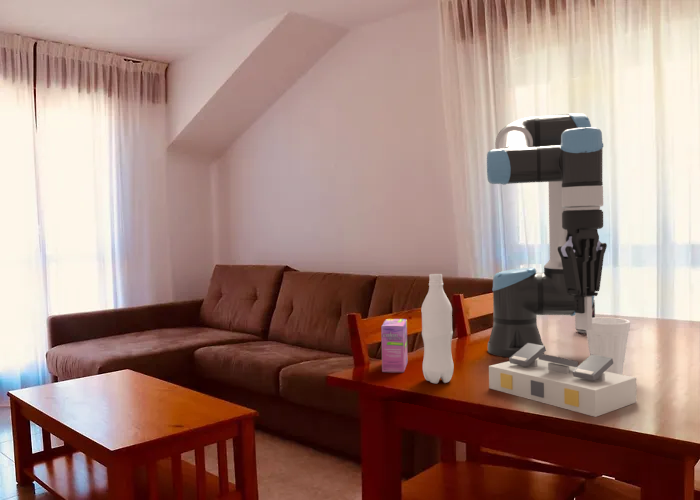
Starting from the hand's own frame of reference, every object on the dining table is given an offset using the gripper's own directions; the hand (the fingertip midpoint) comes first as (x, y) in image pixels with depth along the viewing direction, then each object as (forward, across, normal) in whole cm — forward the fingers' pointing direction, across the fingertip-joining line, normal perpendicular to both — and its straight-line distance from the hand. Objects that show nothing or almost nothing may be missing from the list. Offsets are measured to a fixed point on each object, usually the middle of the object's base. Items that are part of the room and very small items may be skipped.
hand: (583, 328), depth 119 cm
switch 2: (+8, -2, -8) cm, 11 cm away
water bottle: (+16, +9, -33) cm, 37 cm away
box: (+16, +8, -50) cm, 53 cm away
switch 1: (+8, -2, -16) cm, 18 cm away
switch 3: (+8, -2, 0) cm, 8 cm away
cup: (+16, -23, -10) cm, 30 cm away
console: (+15, -2, -8) cm, 17 cm away
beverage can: (+17, -67, -45) cm, 83 cm away
